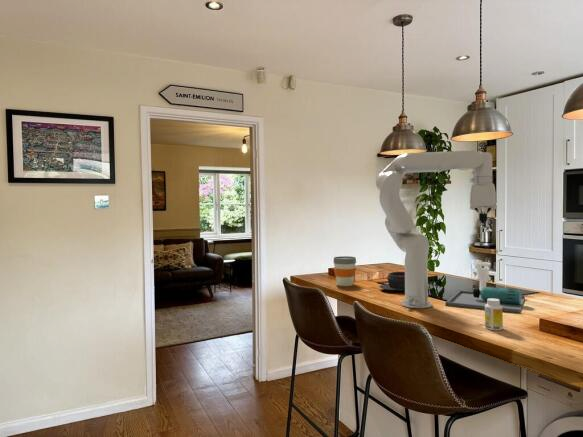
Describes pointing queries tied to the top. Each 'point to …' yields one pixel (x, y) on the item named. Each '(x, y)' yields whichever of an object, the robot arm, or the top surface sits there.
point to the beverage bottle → (499, 294)
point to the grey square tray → (479, 302)
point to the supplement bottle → (493, 314)
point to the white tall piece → (482, 273)
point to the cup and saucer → (395, 282)
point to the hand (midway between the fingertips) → (483, 222)
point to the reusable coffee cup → (344, 270)
